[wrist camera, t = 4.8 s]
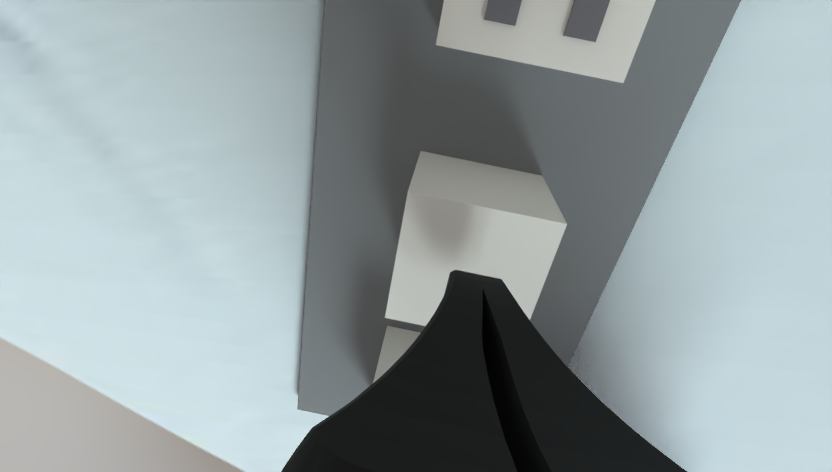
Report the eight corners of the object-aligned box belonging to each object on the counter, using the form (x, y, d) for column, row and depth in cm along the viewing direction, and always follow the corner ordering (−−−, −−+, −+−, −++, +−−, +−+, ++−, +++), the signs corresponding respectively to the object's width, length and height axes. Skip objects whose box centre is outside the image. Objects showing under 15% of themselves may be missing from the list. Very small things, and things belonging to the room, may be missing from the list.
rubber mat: (523, 446, 22) (524, 456, 22) (301, 400, 22) (297, 409, 22) (813, -183, 11) (833, -194, 10) (349, -276, 11) (344, -291, 10)
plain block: (542, 175, 15) (567, 224, 11) (507, 277, 17) (519, 345, 13) (420, 150, 15) (407, 191, 11) (401, 255, 17) (384, 317, 13)
